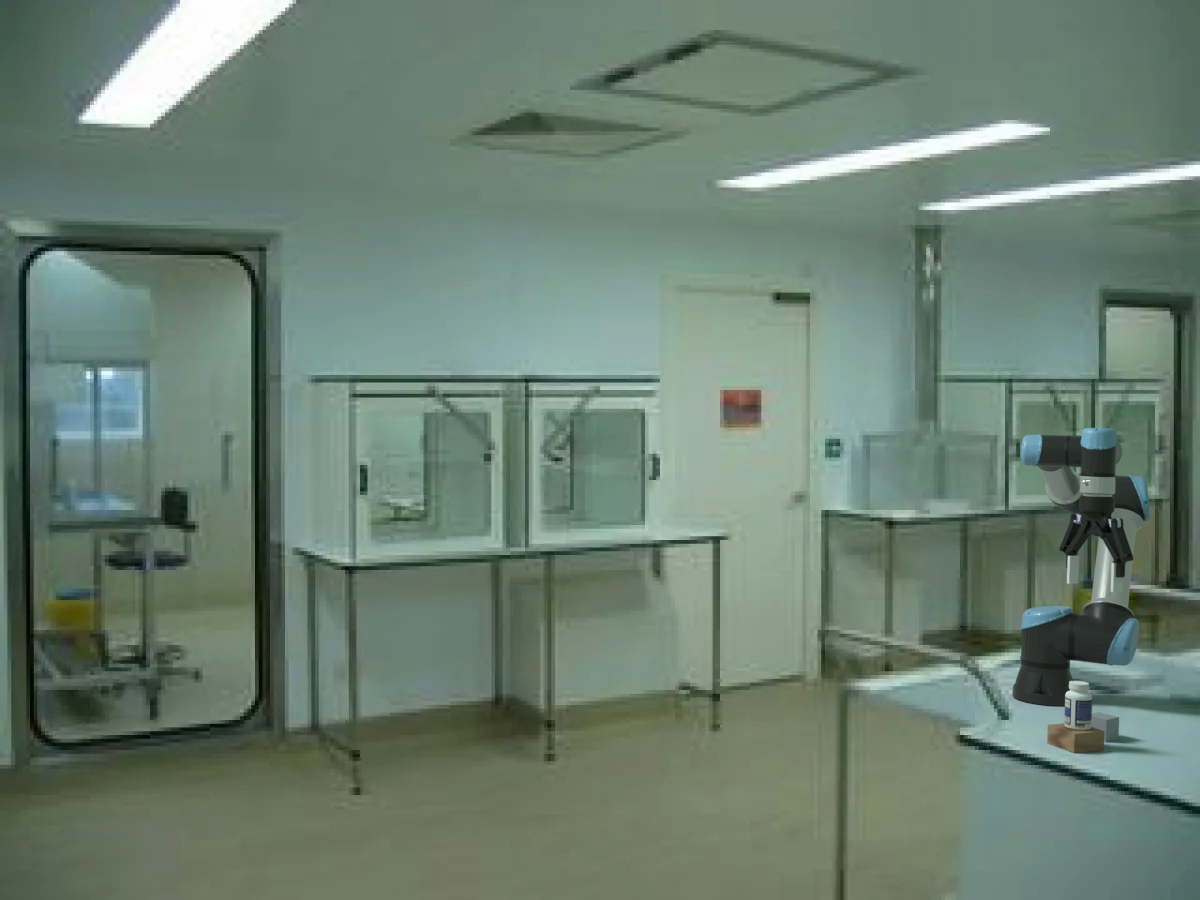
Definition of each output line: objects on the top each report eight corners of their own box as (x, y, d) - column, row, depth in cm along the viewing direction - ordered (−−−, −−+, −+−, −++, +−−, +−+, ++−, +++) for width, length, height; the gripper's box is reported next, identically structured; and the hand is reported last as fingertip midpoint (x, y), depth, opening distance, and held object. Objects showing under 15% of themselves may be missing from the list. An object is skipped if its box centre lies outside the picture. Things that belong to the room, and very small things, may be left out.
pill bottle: (1094, 727, 258) (1096, 682, 257) (1085, 732, 254) (1087, 686, 253) (1069, 723, 261) (1071, 678, 261) (1060, 727, 257) (1061, 682, 257)
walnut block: (1047, 743, 260) (1047, 724, 260) (1076, 740, 263) (1077, 722, 262) (1074, 753, 252) (1074, 734, 252) (1103, 750, 255) (1104, 731, 255)
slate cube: (1084, 737, 266) (1085, 715, 265) (1097, 734, 269) (1098, 712, 268) (1105, 742, 262) (1106, 719, 261) (1118, 739, 264) (1119, 716, 264)
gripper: (1045, 491, 285) (1042, 580, 286) (1126, 499, 262) (1122, 595, 263) (1070, 491, 288) (1067, 579, 289) (1152, 498, 265) (1149, 594, 265)
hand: (1094, 587), depth 276 cm, fingers open, 13 cm apart
